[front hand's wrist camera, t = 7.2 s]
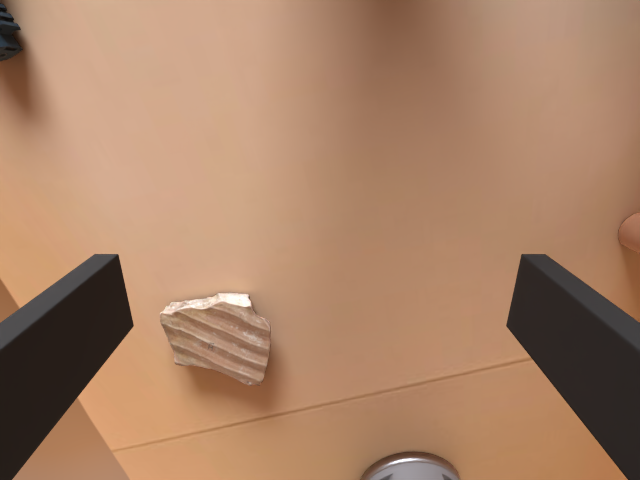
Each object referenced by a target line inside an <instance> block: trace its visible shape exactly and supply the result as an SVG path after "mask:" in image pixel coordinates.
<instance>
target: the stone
mask: <svg viewBox="0 0 640 480" xmlns="http://www.w3.org/2000/svg"><path fill="white" fill-rule="evenodd" d="M160 321H161V325H162V326H163V328H164V331H165V333H166V336H167V338H168V341H169V343H170V345H171V347H172V349H173V350H174V358H175V364H176V365H181V366H188V365H193V366H199V367H203V368H209V369H213V370H216V371H218V372H221V373H224V374H226V375H229V376H231V377H233V378H235V379H237V380H238V381H240V382H242V383H245V384H247V385H250V386H251V385H253V384H255V385H259V386H260V383H261V382H263V378H264V374H265V370H266V368H267V363H268V357H269V351H270V345H271V339H270V321H268V320H267V319H264V318H261V317H260V316H258V315H257V314H256V313H255V312H254V311H253V307H252V303H251V301H250V297H249V295H248V294H238V293H217V294H216V295H215V296H213V297H207V298H205V299H195V300H185V301H182V302H171V303H170V305H169V306H166V307H165V310H164V311H162V312H161V313H160Z"/></svg>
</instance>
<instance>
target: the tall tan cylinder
mask: <svg viewBox="0 0 640 480" xmlns="http://www.w3.org/2000/svg"><path fill="white" fill-rule="evenodd" d="M618 238H619V241H620V243H621V244H622V245H623V246H625V247H627V248H629V249H631V250H633V251H635V252H637V253H639V254H640V212H639V213H636V214H633V215H631V216H630V217H628V218H627V219H626V220H625V221H624V222H623V223H622V225H621V227H620V229H619V232H618Z"/></svg>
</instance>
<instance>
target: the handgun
mask: <svg viewBox="0 0 640 480" xmlns="http://www.w3.org/2000/svg"><path fill="white" fill-rule="evenodd" d="M6 11H7V9H6V7H5V6H4V5H3V4H0V61H3V60H7V59H9V58H11V57H13V56H14V55H16V54H17V53H19V52H20V51H21V50H23V49H22V48H21V46H20V45H19V44H18V42H17V41H16V40H15V38H14V37H13V36H12V33H13V32H14V31H17V30H21V29H20V27H19V25H18V24H16V23H14V22H13V20H14V18H13V17H12V16H11V14H8V13H7V12H6Z"/></svg>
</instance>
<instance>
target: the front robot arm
mask: <svg viewBox="0 0 640 480" xmlns="http://www.w3.org/2000/svg"><path fill="white" fill-rule="evenodd" d="M133 326H134V325H133V320H132V316H131V311H130V306H129V302H128V297H127V293H126V288H125V283H124V279H123V274H122V269H121V265H120V260H119V255H118V254H94V255H93V256H92V257H90V258H89V259H88V260H86V261H85V262H83V263H82V264H81V265H79V266H78V267H77V268H75V269H74V270H72V271H71V272H70V273H68V274H67V275H66V276H64V277H63V278H61V279H60V280H59V281H57V282H56V283H55V284H53V285H52V286H50V287H49V288H48V289H46V290H45V291H43V292H42V293H41V294H39V295H38V296H37V297H35V298H34V299H32V300H31V301H30V302H28V303H27V304H26V305H24V306H23V307H21V308H20V309H19V310H17V311H16V312H15V313H13V314H12V315H10V316H9V317H8V318H6V319H5V320H4V321H2V322H1V323H0V480H12V479H13V478H14V477H15V475H16V474H17V473H18V471H19V470H20V469H21V468H22V466H23V465H24V464H25V463H26V461H27V460H28V459H29V458H30V456H31V455H32V454H33V452H34V451H35V450H36V449H37V447H38V446H39V445H40V444H41V442H42V441H43V440H44V439H45V437H46V436H47V435H48V434H49V432H50V431H51V430H52V428H53V427H54V426H55V425H56V423H57V422H58V421H59V420H60V418H61V417H62V416H63V415H64V413H65V412H66V411H67V409H68V408H69V407H70V406H71V405H72V403H73V402H74V401H75V399H76V398H77V397H78V396H79V394H80V393H81V392H82V391H83V389H84V388H85V387H86V386H87V384H88V383H89V382H90V381H91V379H92V378H93V377H94V375H95V374H96V373H97V372H98V370H99V369H100V368H101V367H102V365H103V364H104V363H105V362H106V360H107V359H108V358H109V356H110V355H111V354H112V353H113V351H114V350H115V349H116V348H117V346H118V345H119V344H120V343H121V341H122V340H123V339H124V338H125V336H126V335H127V334H128V332H129V331H130V330H131V329H132V327H133ZM506 326H507V327H508V329H509V330H510V331H511V332H512V334H513V335H514V336H515V338H516V339H517V340H518V341H519V343H520V344H521V345H522V346H523V348H524V349H525V350H526V351H527V353H528V354H529V355H530V356H531V358H532V359H533V360H534V362H535V363H536V364H537V365H538V367H539V368H540V369H541V370H542V372H543V373H544V374H545V375H546V377H547V378H548V379H549V381H550V382H551V383H552V384H553V386H554V387H555V388H556V389H557V391H558V392H559V393H560V394H561V396H562V397H563V398H564V399H565V401H566V402H567V403H568V405H569V406H570V407H571V408H572V410H573V411H574V412H575V413H576V415H577V416H578V417H579V418H580V420H581V421H582V422H583V423H584V425H585V426H586V427H587V429H588V430H589V431H590V432H591V434H592V435H593V436H594V437H595V439H596V440H597V441H598V442H599V444H600V445H601V446H602V447H603V449H604V450H605V451H606V453H607V454H608V455H609V456H610V458H611V459H612V460H613V461H614V463H615V464H616V465H617V466H618V468H619V469H620V470H621V471H622V473H623V474H624V475H625V477H626V478H627V479H628V480H640V323H639V322H638V321H636V320H635V319H634V318H632V317H631V316H630V315H628V314H627V313H625V312H624V311H623V310H621V309H620V308H619V307H617V306H616V305H614V304H613V303H612V302H610V301H609V300H608V299H606V298H605V297H603V296H602V295H601V294H599V293H598V292H596V291H595V290H594V289H592V288H591V287H590V286H588V285H587V284H585V283H584V282H583V281H581V280H580V279H579V278H577V277H576V276H574V275H573V274H572V273H570V272H569V271H568V270H566V269H565V268H563V267H562V266H561V265H559V264H558V263H557V262H555V261H554V260H552V259H551V258H550V257H548V256H547V255H546V254H522V255H521V260H520V265H519V269H518V274H517V279H516V283H515V288H514V293H513V297H512V302H511V306H510V311H509V316H508V320H507V325H506ZM361 480H460V477H459V474H458V472H457V471H456V469H455V468H454V467H453V466H452V465H451V464H450V463H449V462H447V461H446V460H444V459H443V458H441V457H438V456H436V455H432V454H429V453H422V452H405V453H399V454H394V455H391V456H388V457H386V458H383V459H381V460H379V461H378V462H376V463H375V464H373V465H372V466H371V467H369V468H368V469H367V470H366V472H365V473H364V474H363V476H362V477H361Z"/></svg>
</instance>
